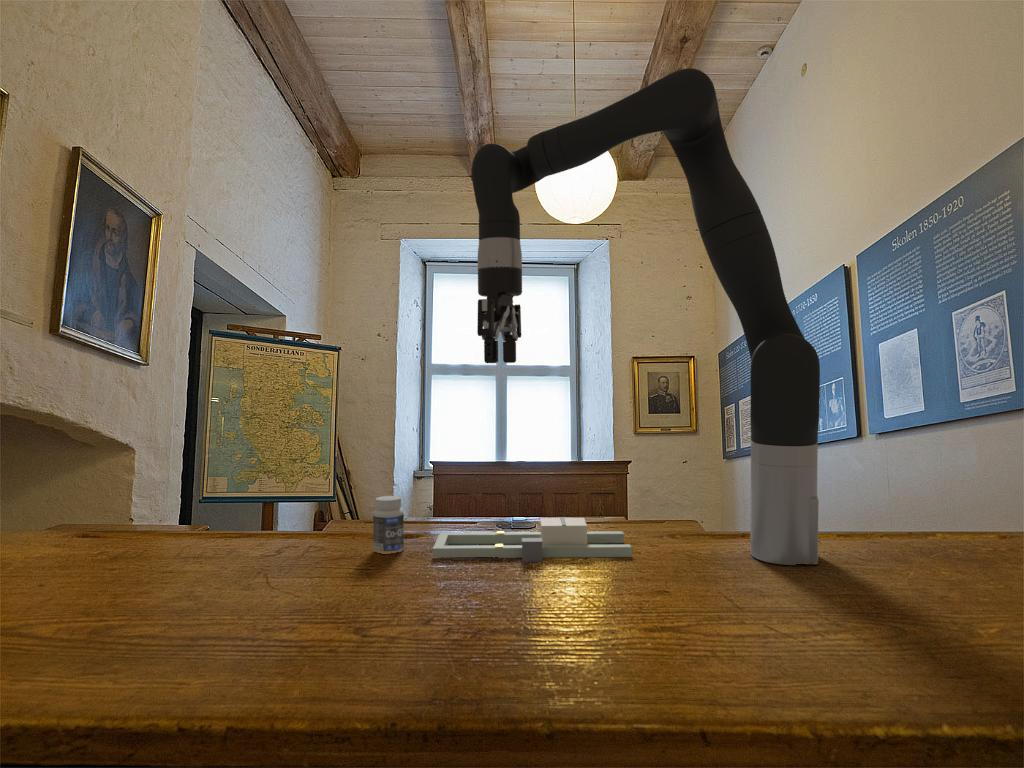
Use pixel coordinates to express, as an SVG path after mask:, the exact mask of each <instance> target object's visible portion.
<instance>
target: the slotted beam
mask: <svg viewBox="0 0 1024 768" xmlns="http://www.w3.org/2000/svg"><path fill="white" fill-rule="evenodd" d="M624 535H625V534H624V532H623V531H621V530H620V531H619V530H617V531H613V530H612V531H611V530H610V531H587V545H542V538H541V531H506V532H505V531H504V535H497V531H493V532H492V531H490V532H487V531H485V532H484V531H483V532H482V531H481V532H478V531H477V532H440V533H439V534H438V535H437V539H436V541H435V543H434V544H433V547H432V558H433V557H493V558H492V559H496V558H495V557H498V558H497V559H499V558H500V559H508V558H509V559H513V558H514V559H515V558H516V559H518V558H519V559H521V558H522V559H521V561H522V563H524V562H526V563H530V562H531V563H533V562H537V563H538V562H543V559H545V558H549V559H550V558H632V554H633V553H632V551H633V550H632V546H631V544H628V543H627V544H626V543H625V536H624ZM493 544H494V545H493ZM495 544H503V548H495ZM514 544H515V545H514Z"/></svg>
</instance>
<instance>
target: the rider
mask: <svg viewBox="0 0 1024 768" xmlns="http://www.w3.org/2000/svg"><path fill="white" fill-rule="evenodd" d="M539 520H540V521H539V522H540V524H539V525H540V532H541V538H542V545H588V543H587V532H588V524H587V522H586V520H585V518H584V517H563V516H562V517H541V518H540V519H539Z"/></svg>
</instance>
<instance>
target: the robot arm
mask: <svg viewBox="0 0 1024 768" xmlns="http://www.w3.org/2000/svg"><path fill="white" fill-rule="evenodd" d="M717 97H718V96H717V93H716V89H715V86H714V83H713V81H712V79H711V77H709V75H708V74H707V73H705V72H703V71H702V70H700V69H696V68H689V67H687V68H682V69H678V70H675V71H674V72H670V73H669V74H667V75H664V76H663V77H660V78H659V79H657V80H655V81H653V82H652V83H650V84H649V85H646V86H645V87H643V88H641V89H639V90H638V91H636V92H634V93H632V94H630V95H627V96H626V97H624V98H621V99H620V100H618V101H616V102H613V103H612V104H610V105H608V106H605V107H603V108H601V109H598V110H596V111H593V112H591V113H588V114H586V115H584V116H582V117H578V118H577V119H576V118H575V119H573V120H570V121H568V122H565V123H562V124H559V125H556V126H554V127H551V128H548V129H546V130H542V131H539V132H537V133H535V134H533V135H532V136H530V137H529V139H528V140H527V144H526V145H525V146H523V147H521V148H518V149H516V150H514V151H510V150H509V149H508V148H507V147H505V146H503V145H502V144H498V143H495V142H492V143H486V144H484V145H482V146H481V147H479V149H478V150H477V151H476V153H475V155H474V156H473V160H472V162H471V163H472V164H471V181H472V187H473V193H474V198H475V203H476V207H477V212H478V247H477V292H478V293H477V294H478V295H479V297H480V296H481V297H486V298H485V299H483V298H481V299H478V300H477V327H476V328H477V331H476V333H477V336H478V337H481V339H482V341H483V343H484V344H483V352H484V353H483V355H484V356H483V358H484V362H485V364H498V362H499V340H498V339H499V336H500V333H501V337H502V340H503V341H502V361H503V363H505V364H513V363H514V364H515V363H516V362H517V342H518V341H519V339H520V338H522V315H521V314H522V312H521V310H522V309H521V308H522V307H521V304H520V303H517V304H515V303H514V297H518V296H521V295H522V293H523V256H522V254H523V253H522V248H521V247H522V246H521V218H520V213H519V212H520V211H519V209H518V208H517V206H516V204H515V202H514V197H513V194H514V193H518V192H520V191H523V190H525V189H526V188H529V187H531V186H533V185H534V184H536V183H539V181H541V180H543V179H544V178H546V177H550V176H553V175H557V174H560V173H562V172H563V173H564V172H566V171H569V170H571V169H574V168H578V167H580V166H583V165H585V164H587V163H589V162H591V161H593V160H595V159H597V158H599V157H600V156H602V155H603V154H605V153H607V152H608V151H610V150H612V149H613V148H615V147H617V146H619V145H620V144H622V143H625V142H627V141H630V140H633V139H634V138H637V137H641V136H644V135H648V134H653V133H659V132H662V134H663V135H664V137H666V139H667V141H668V142H669V145H670V147H671V148H672V151H673V152H674V154H675V156H676V158H677V160H678V162H679V164H680V166H681V169H682V171H683V173H684V175H685V177H686V181H687V185H688V188H689V194H690V198H691V199H690V200H691V205H692V209H693V214H694V218H695V221H696V225H697V228H698V231H699V234H700V237H701V240H702V241H701V242H702V243H703V246H704V249H705V251H706V254H707V256H708V258H709V261H710V264H711V266H712V268H713V270H714V272H715V274H716V277H717V279H718V281H719V282H720V284H721V286H722V288H723V290H724V292H725V294H726V295H727V297H728V298H729V301H730V303H731V304H732V306H733V307H734V310H735V311H736V314H737V315H738V319H739V322H740V324H741V327H742V330H743V334H744V338H745V341H746V345H747V349H748V352H749V357H750V361H751V362H750V374H749V375H750V380H749V381H750V390H749V391H750V415H749V416H750V419H749V420H750V537H749V538H750V539H749V540H750V542H749V543H750V550H749V551H750V555H751V556H752V557H753V558H755V559H757V560H759V561H762V562H765V563H771V564H776V565H785V566H786V565H787V566H797V565H796V564H805V563H817V564H818V565H819V498H818V457H819V455H818V453H819V452H818V449H819V448H818V446H819V445H818V441H819V440H818V439H819V438H818V437H819V424H820V396H821V395H820V393H821V391H820V389H821V387H820V386H821V385H820V384H821V378H820V377H821V370H820V369H821V366H820V358H819V354H818V353H817V350H816V348H815V347H814V346H813V344H811V343H810V342H809V341H808V340H807V339H806V338H805V337H804V333H802V331H801V329H800V327H799V325H798V323H797V321H796V319H795V317H794V314H793V313H792V310H791V309H790V305H789V303H788V301H787V298H786V295H785V290H784V287H783V283H782V282H783V281H782V277H781V272H780V267H779V263H778V259H777V255H776V251H775V247H774V244H773V241H772V238H771V235H770V232H769V229H768V227H767V224H766V222H765V219H764V217H763V214H762V210H761V209H760V207H759V204H758V203H757V200H756V199H755V196H754V193H753V192H752V190H751V189H750V187H749V185H748V183H747V182H746V179H744V177H743V176H742V173H741V172H740V171H739V169H738V168H737V166H736V163H735V162H734V160H733V157H732V154H731V153H730V150H729V146H728V143H727V139H726V136H725V135H726V134H725V131H724V128H723V124H722V120H721V116H720V110H719V109H720V107H719V103H718V98H717Z"/></svg>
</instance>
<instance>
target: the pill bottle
mask: <svg viewBox="0 0 1024 768" xmlns="http://www.w3.org/2000/svg"><path fill="white" fill-rule="evenodd" d="M374 503H375V504H374V505H375V510H374V511H373V512H372V513H373V514H372V521H373V522H372V523H373V526H372V527H373V528H372V531H373V534H372V535H373V536H372V537H373V550H374V549H375V550H378V551H385V552H386V551H399V550H402V549H405V536H404V534H405V529H404V528H405V527H404V524H405V522H404V519H405V517H404V516H405V514H404V510H403V509H402V497H401V496H398V495H383V496H378V497H376V498H375V502H374Z"/></svg>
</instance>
